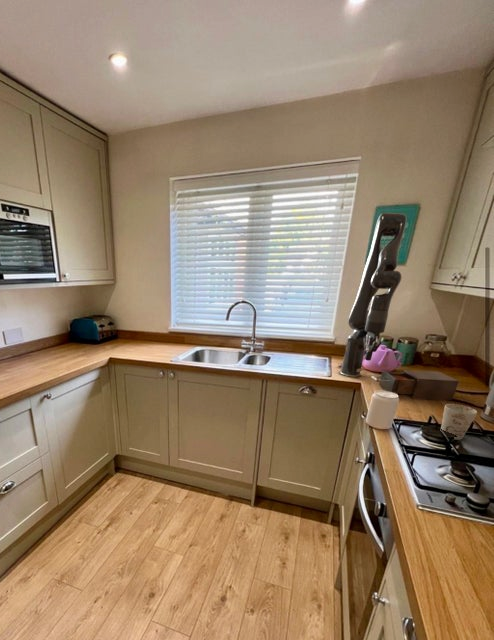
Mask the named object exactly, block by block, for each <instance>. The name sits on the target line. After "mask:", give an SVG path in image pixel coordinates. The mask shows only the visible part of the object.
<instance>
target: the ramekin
mask: <svg viewBox="0 0 494 640" xmlns="http://www.w3.org/2000/svg"><path fill="white" fill-rule="evenodd" d="M394 377H395V378H397V379H398V380H397V384H396V387H395V389H397V385H398V382H399V379H407V378H405V377H400V376H394Z"/></svg>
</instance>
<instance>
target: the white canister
mask: <svg viewBox="0 0 494 640" xmlns="http://www.w3.org/2000/svg"><path fill="white" fill-rule="evenodd" d="M399 402H400V398H399V395H398V393H395V392H394V393H392V392H389V391H386V390H375V391H374V393H372V394H371V398H370V402H369V406H368V410H367V414H366V418H365V423H366V424H367V425H368V426H370V427H372V428H374V429H378V430H389V429H391V428H392V426H393V423H394V419H395V416H396V413H397V409H398V405H399Z"/></svg>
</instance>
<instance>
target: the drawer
mask: <svg viewBox="0 0 494 640" xmlns="http://www.w3.org/2000/svg"><path fill="white" fill-rule="evenodd" d="M394 376H400V377H405V378H407V379H399V382H398V385H397V389H395V387H396V384H397V380H398V379H397V378H395V377H394ZM370 378H371V379H372V380H373V381H375V382H376V383H378V386H379V387H380V388H382V389H383V391H389V392H392V393H395V394H403V395H408V394H413V393H414V389H415V386H416V383H417V379H415V378H413V377H411V376H410V375H408V374H406V373H402V372H395V371H394V372H393V371H391V372H385V371H382V372H381V373H380V376H375V375H371V377H370Z"/></svg>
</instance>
